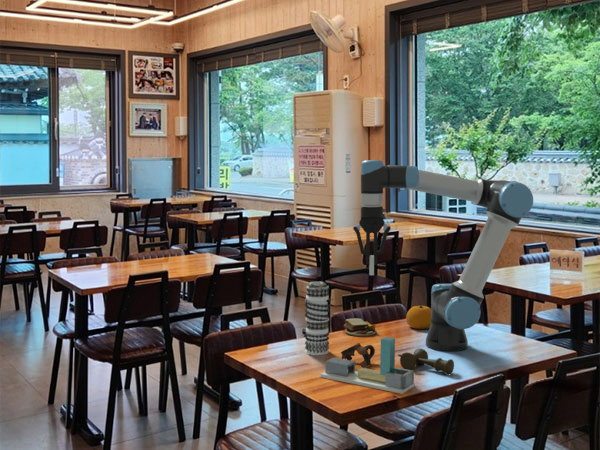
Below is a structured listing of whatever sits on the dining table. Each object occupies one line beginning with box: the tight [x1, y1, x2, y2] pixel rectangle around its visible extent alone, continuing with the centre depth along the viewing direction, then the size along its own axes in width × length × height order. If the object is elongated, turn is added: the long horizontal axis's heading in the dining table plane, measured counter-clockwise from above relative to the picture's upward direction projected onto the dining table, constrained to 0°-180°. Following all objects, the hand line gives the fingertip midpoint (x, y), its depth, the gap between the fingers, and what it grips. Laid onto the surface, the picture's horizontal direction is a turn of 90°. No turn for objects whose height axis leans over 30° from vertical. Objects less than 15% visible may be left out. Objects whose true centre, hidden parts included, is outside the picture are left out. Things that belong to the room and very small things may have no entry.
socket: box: [385, 366, 415, 390], centre depth 225 cm, size 6×7×4 cm
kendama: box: [397, 348, 455, 376], centre depth 245 cm, size 6×10×20 cm
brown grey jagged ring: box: [340, 342, 376, 368], centre depth 250 cm, size 12×10×8 cm
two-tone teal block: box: [357, 336, 396, 382], centre depth 228 cm, size 14×3×13 cm, turn 56°
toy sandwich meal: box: [343, 317, 378, 337], centre depth 293 cm, size 12×14×5 cm
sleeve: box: [324, 357, 356, 377], centre depth 237 cm, size 8×5×4 cm, turn 56°
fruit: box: [405, 303, 431, 330], centre depth 301 cm, size 12×12×10 cm
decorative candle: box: [304, 281, 331, 356], centre depth 264 cm, size 9×9×25 cm
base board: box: [320, 370, 416, 395], centre depth 232 cm, size 28×9×1 cm, turn 56°
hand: (371, 274), depth 255 cm, fingers closed
